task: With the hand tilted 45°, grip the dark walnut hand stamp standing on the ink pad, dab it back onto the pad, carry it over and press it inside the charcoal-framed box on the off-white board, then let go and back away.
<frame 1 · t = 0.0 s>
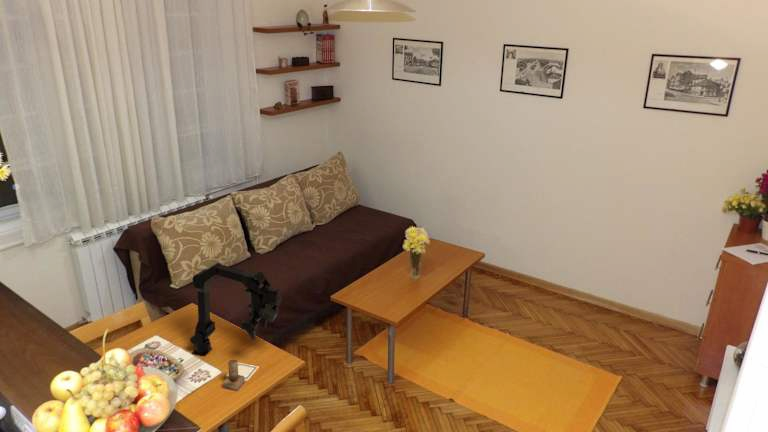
hand: (258, 333, 239), 14 cm above the table, tool pointing down, fingers open, 9 cm apart
stamp: (234, 385, 227), point 1 cm above the table, touching ink pad
marked board: (242, 373, 236), on the table
ink pad: (233, 387, 227), on the table
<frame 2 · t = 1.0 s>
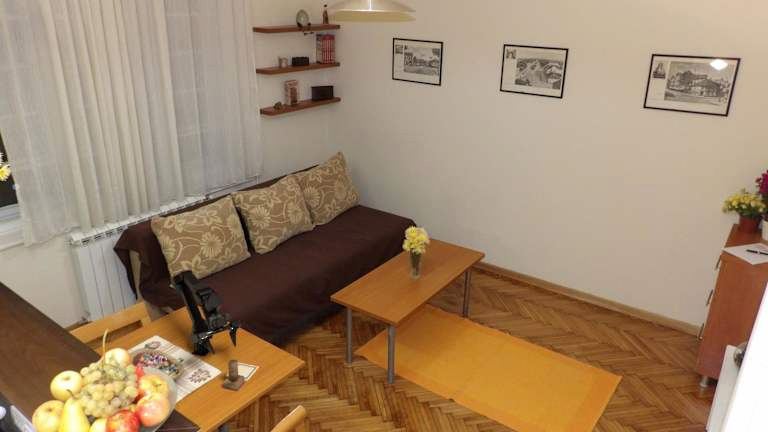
hand: (224, 350, 228), 13 cm above the table, tool tilted 45°, fingers open, 9 cm apart
nothing on the table moved.
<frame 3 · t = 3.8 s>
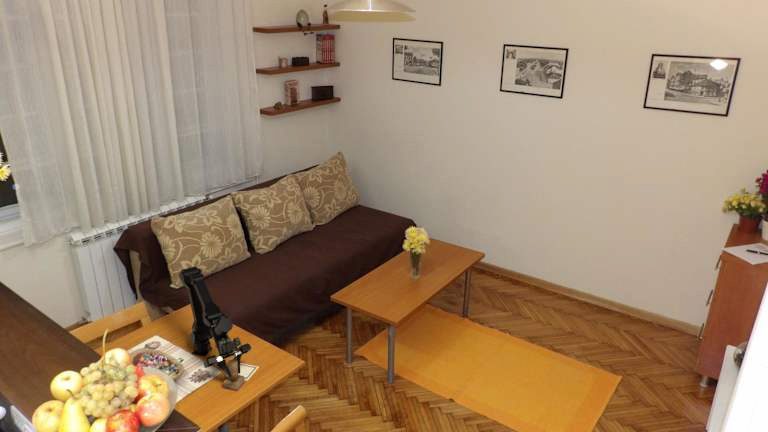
hand: (235, 375, 224), 7 cm above the table, tool tilted 45°, fingers closed on stamp, 4 cm apart
stamp: (234, 385, 227), point 1 cm above the table, touching gripper, ink pad
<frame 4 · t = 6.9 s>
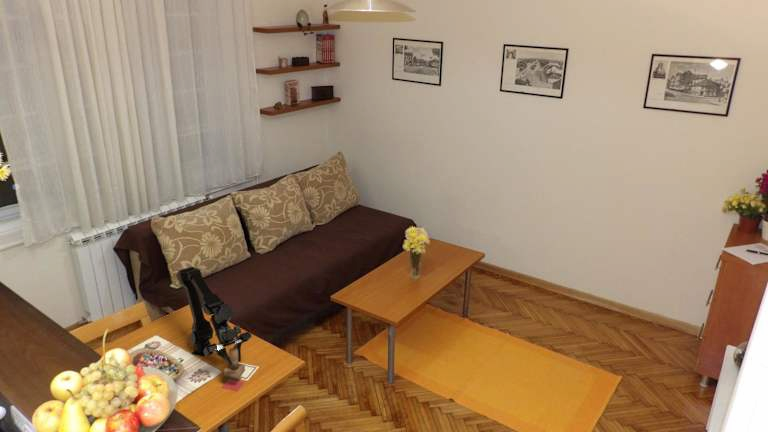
hand: (235, 363, 223), 11 cm above the table, tool tilted 45°, fingers closed on stamp, 4 cm apart
stamp: (234, 373, 226), point 6 cm above the table, touching gripper
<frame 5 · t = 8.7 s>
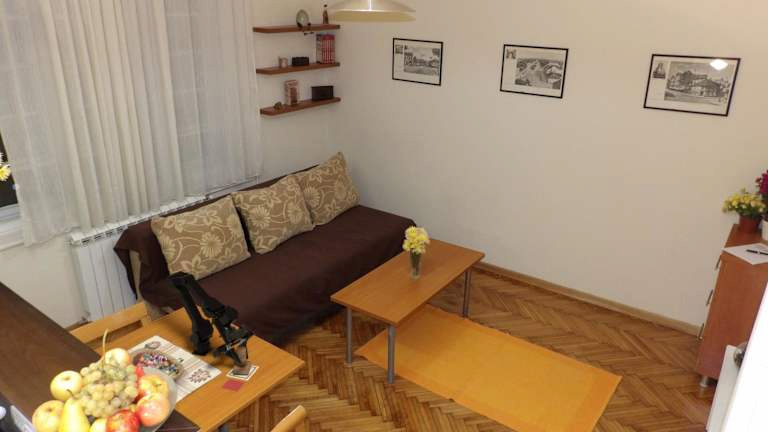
hand: (244, 361, 233), 7 cm above the table, tool tilted 45°, fingers closed on stamp, 4 cm apart
stamp: (242, 371, 236), point 1 cm above the table, touching gripper, marked board
when the fingers open (7 cm above the table, at t = 9.8 s): stamp stays where it is, resting on marked board.
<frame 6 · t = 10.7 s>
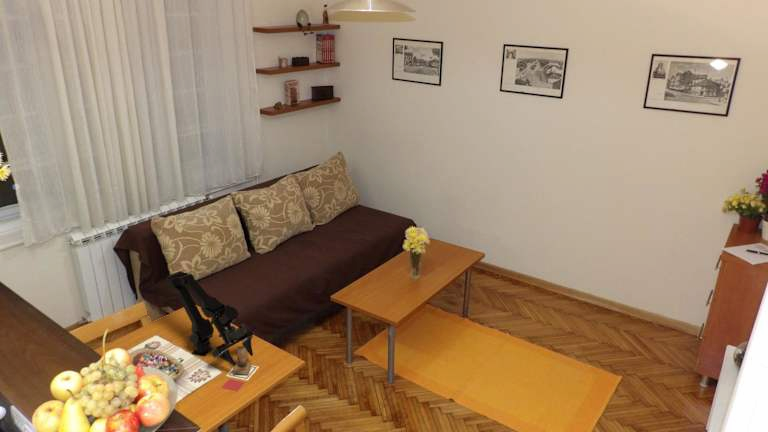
hand: (243, 360, 233), 7 cm above the table, tool tilted 45°, fingers open, 9 cm apart
stamp: (242, 371, 236), point 1 cm above the table, touching marked board
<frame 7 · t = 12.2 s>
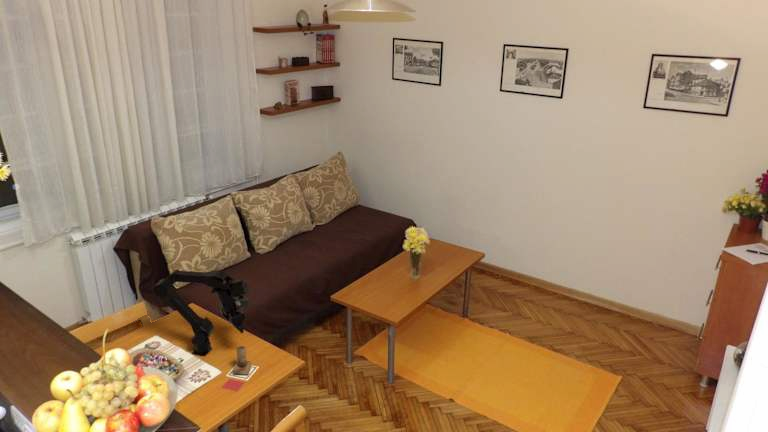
hand: (239, 329, 246), 12 cm above the table, tool tilted 20°, fingers open, 9 cm apart
nothing on the table moved.
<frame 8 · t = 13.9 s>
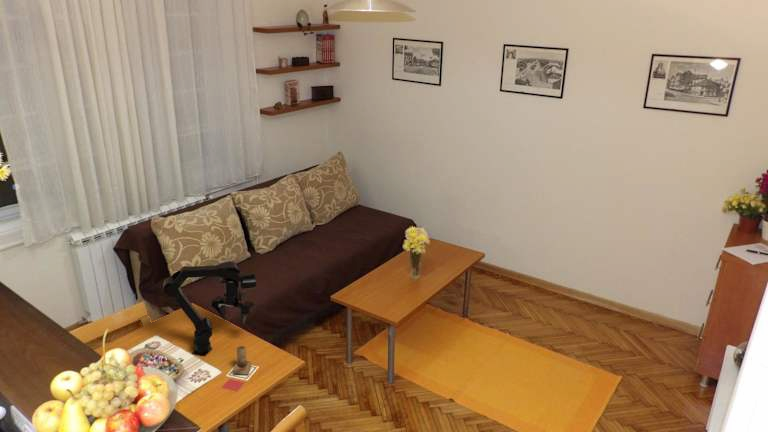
hand: (234, 321, 251), 13 cm above the table, tool pointing down, fingers open, 9 cm apart
nothing on the table moved.
at the end: stamp 0.1 cm off-centre on the marked board, point 1.0 cm above the marked board's base; stamp tilted 0°; the gripper is holding nothing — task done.
